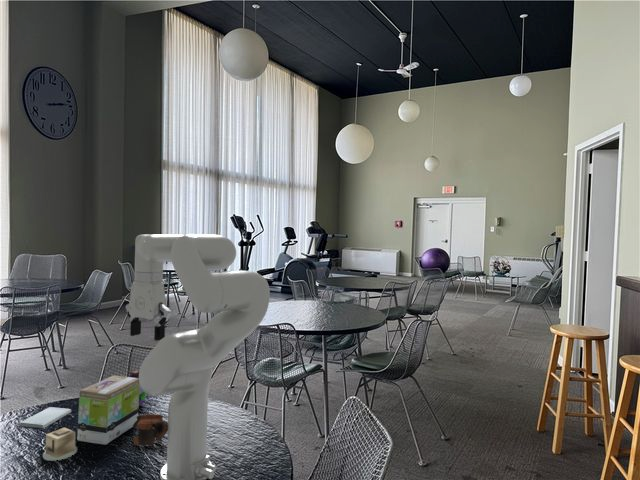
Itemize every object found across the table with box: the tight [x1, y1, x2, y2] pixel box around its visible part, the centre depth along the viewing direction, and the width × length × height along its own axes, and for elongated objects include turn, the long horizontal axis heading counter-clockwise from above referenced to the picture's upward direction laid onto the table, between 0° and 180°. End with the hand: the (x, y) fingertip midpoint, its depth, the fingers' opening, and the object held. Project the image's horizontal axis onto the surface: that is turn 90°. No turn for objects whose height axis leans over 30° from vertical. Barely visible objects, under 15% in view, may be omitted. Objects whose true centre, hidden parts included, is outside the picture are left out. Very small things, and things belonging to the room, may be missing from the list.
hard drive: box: [18, 406, 72, 429], centre depth 141 cm, size 2×8×12 cm
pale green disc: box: [42, 445, 78, 462], centre depth 120 cm, size 8×8×1 cm
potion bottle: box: [127, 370, 147, 407], centre depth 153 cm, size 9×9×12 cm
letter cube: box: [45, 427, 76, 458], centre depth 120 cm, size 5×5×5 cm
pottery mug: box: [132, 413, 168, 446], centre depth 130 cm, size 12×10×8 cm
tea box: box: [76, 375, 140, 446], centre depth 133 cm, size 15×10×15 cm, turn 168°
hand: (147, 337), depth 127 cm, fingers open, 9 cm apart
